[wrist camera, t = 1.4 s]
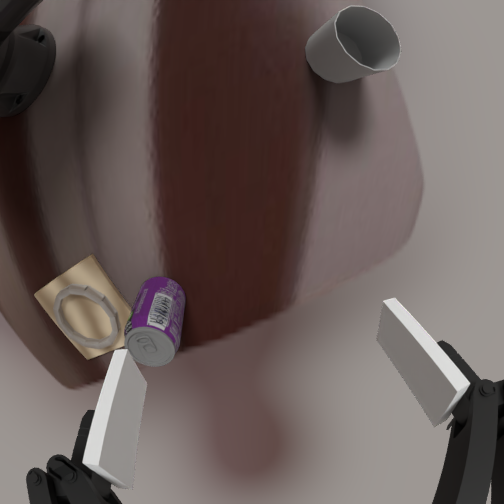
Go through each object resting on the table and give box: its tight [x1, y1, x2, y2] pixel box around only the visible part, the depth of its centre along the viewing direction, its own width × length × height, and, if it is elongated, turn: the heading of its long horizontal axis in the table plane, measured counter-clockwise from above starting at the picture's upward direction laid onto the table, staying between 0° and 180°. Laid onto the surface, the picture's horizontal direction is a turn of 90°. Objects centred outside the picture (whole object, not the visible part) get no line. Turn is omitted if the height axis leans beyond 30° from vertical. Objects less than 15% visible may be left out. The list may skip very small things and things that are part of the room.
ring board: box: [34, 254, 132, 360], centre depth 39 cm, size 16×16×2 cm
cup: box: [305, 6, 401, 83], centre depth 25 cm, size 8×8×10 cm
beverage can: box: [124, 277, 186, 367], centre depth 35 cm, size 7×7×12 cm
